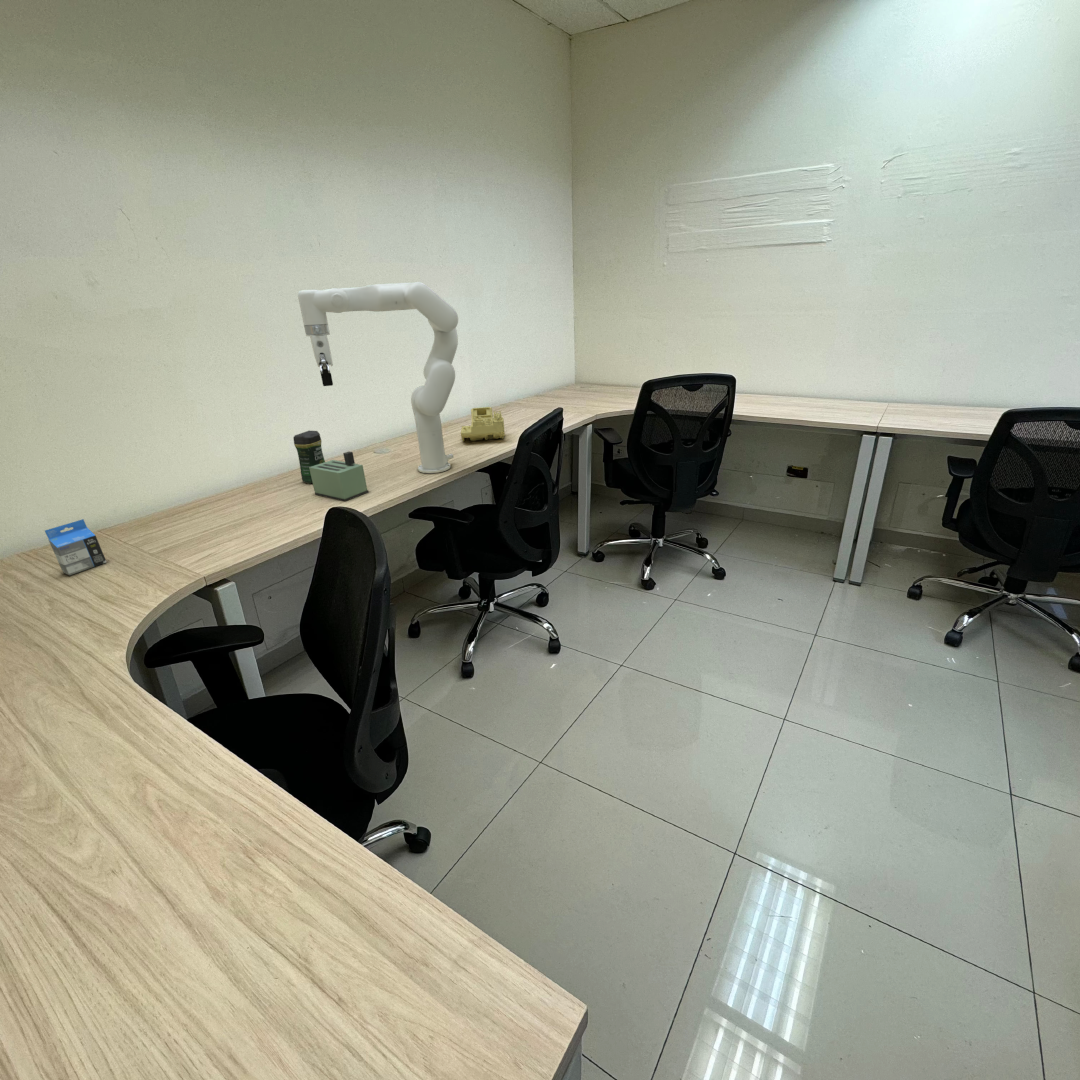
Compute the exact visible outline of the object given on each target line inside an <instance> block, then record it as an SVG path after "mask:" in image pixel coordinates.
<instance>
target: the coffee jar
mask: <svg viewBox="0 0 1080 1080" xmlns="http://www.w3.org/2000/svg"><path fill="white" fill-rule="evenodd" d="M293 445H294V448H295V449H296V452H297V456H298V463H299V469H300V475H301V476H300V477H301V481H302V483H305V484H313V482H312V478H311V474H310V469H309V467H312V466H315V465H318V464H321V463H324V462H326V461H325V456H324V453H323V448H322V436H321V434H320V432H319V431H318V430H307V431H303V432H300V433H298V434H294V436H293Z"/></svg>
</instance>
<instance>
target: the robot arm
mask: <svg viewBox="0 0 1080 1080" xmlns="http://www.w3.org/2000/svg"><path fill="white" fill-rule="evenodd" d="M297 298H298V299H297V300H298V303H299V308H300V314H301V318H302V323H303V327H304V333H305V336H306V337H310V342H311V347H312V352H313V357H314V359H315V362H316V366H317V367H318V368H320V370H319V373H320V377H321V382H322V387H331V386H334V382H333V377H332V372H331V370H330V367H333V366H334V363H333V359H332V354H331V348H330V343H329V339H328V336H329V335H331V332H330V326H329V322H328V317H327V313H334V314H342V313H348V312H377V313H378V312H394V311H408V310H416V311H418V312H419V313H420V314H421V315H423V316H424V318H426V319H427V321H428V324H429V326H430V327H431V328H432V331H433V335H434V337H433V338H434V339H433V343H432V346H431V350H430V352H429V354H428V357H427V360H426V362H425V364H424V367H423V370H422V371H423V372H422V375H423V377H424V379H425V382H424V385H419V386H416V388H415V389H413V391H412V393H411V396H410V404H411V409H412V412H413V417H414V422H415V429H416V435H417V442H418V443H417V444H418V450H419V456H420V463H421V464H420V465H418V466H417V471H418V472H420V473H423V474H438V473H443V472H446V471H448V470H450V469H451V467H452V466H451V463H449V460H453V458H454V453H449V454H446V451H445V443H444V442H445V441H444V435H443V426H442V419H441V413H442V412H443V410H444V408H445V407H446V405H447V402H448V400H449V397H450V394H451V392H452V389H453V386H454V384H455V382H456V381H455V380H456V370H455V368H454V366H453V362H454V359H455V356H456V352H457V349H458V345H459V335H458V330H457V327H458V324H459V315H458V312H457V311H456V309H455V308H454V307H453V306H452V305H450V304H449V302H447V301H446V300H445V299H444V298H442V297H441V296H440V295H439V294H438V293H437V292H435V291H434V290H433V289H432V288H431V287H430V286H428V285H427V284H426V283H424V282H421V281H413V282H412V281H411V282H395V283H394V282H393V283H391V282H390V283H375V284H374V283H373V284H368V285H364V286H355V287H330V288H327V289H320V290H319V289H301V290H299V291H298V292H297Z"/></svg>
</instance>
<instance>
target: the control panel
mask: <svg viewBox="0 0 1080 1080" xmlns="http://www.w3.org/2000/svg"><path fill="white" fill-rule="evenodd" d="M470 417H471V421H470V422H471V423H470V425H462V426H461V429H460V437H461V440H462V442H465V439H466V438H467V439H468V438H469V440H470V441H471V442H472V441H473V442H474V441H483V439H484V440H485V441H488V440H491V439H493V440H498V439H502V440H503V439H504V437H505V436H506V435H505V432H506V431H505V420H504V417H503V416H502V411H501V410H499V411H497V412H496V411H493V407H490V406H485V407H484V406H483V407H482V406H481V407H472V408H471V409H470Z"/></svg>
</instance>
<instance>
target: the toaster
mask: <svg viewBox="0 0 1080 1080" xmlns="http://www.w3.org/2000/svg"><path fill="white" fill-rule="evenodd" d="M309 469H310V474H311V478H312V482H313V483H312V486H313V491H314V495H316V496H320V497H324V498H329V499H333V500H337V501H341V502H347V501H349V500H352V499H355V498H357V497H360V496H363V495H364V494H367V493H369V490H368V486H367V481H366V476H365V470H364V465H363V464H360V463H354V464H351V465H346V464H345V461H343V460H338V459H337V460H336V459H331V460H327V461H325V462H324V463H321V464H318V465H315V466H312V467H309Z"/></svg>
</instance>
